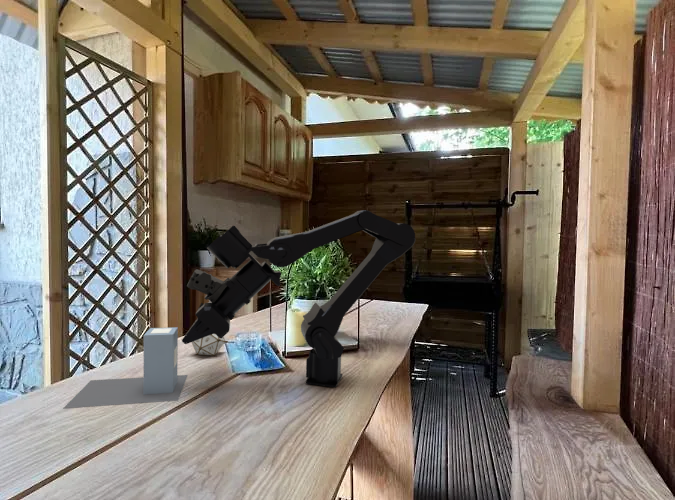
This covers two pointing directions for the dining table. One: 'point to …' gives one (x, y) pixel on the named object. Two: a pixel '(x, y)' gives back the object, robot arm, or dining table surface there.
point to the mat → (121, 393)
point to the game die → (208, 345)
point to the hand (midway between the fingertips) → (183, 342)
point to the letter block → (160, 360)
